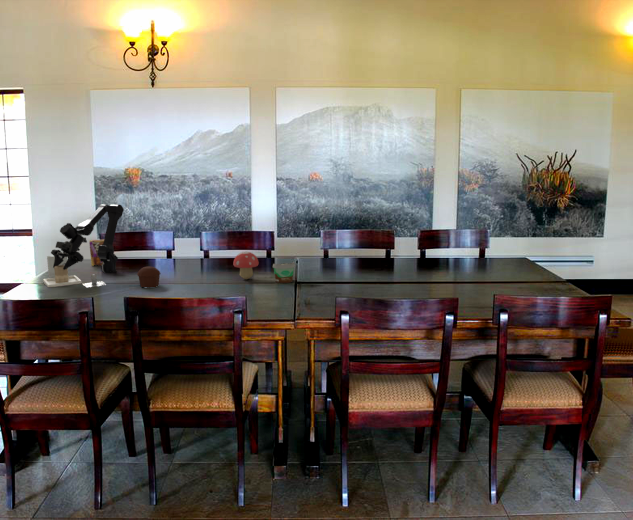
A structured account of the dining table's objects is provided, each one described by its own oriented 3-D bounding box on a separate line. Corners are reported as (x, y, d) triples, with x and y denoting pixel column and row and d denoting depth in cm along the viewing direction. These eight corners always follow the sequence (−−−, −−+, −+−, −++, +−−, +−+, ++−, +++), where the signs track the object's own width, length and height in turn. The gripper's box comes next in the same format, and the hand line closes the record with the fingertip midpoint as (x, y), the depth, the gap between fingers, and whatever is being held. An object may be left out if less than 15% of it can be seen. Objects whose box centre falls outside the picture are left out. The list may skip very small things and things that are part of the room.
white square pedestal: (102, 282, 303) (101, 271, 302) (106, 285, 295) (106, 275, 294) (82, 284, 297) (81, 274, 296) (86, 288, 289) (85, 277, 288)
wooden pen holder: (68, 280, 304) (67, 264, 303) (67, 282, 299) (66, 267, 297) (56, 281, 302) (55, 265, 301) (55, 283, 297) (53, 267, 295)
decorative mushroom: (234, 282, 300) (233, 254, 298) (233, 277, 313) (232, 250, 311) (259, 281, 302) (259, 253, 300) (258, 276, 315) (257, 249, 313)
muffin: (165, 284, 298) (164, 265, 296) (154, 289, 287) (153, 269, 285) (144, 283, 300) (143, 264, 298) (133, 288, 290) (132, 268, 288)
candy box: (107, 263, 353) (105, 239, 350) (106, 265, 348) (104, 240, 346) (92, 264, 350) (89, 239, 347) (91, 266, 346) (89, 241, 343)
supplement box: (60, 279, 310) (58, 256, 308) (48, 279, 311) (46, 256, 309) (69, 276, 317) (67, 254, 315) (57, 276, 319) (55, 253, 316)
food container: (277, 284, 295) (277, 265, 293) (272, 282, 301) (272, 263, 299) (299, 282, 301) (298, 263, 299) (294, 279, 306) (293, 261, 304)
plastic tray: (75, 278, 311) (75, 275, 311) (81, 284, 298) (81, 280, 298) (43, 282, 303) (42, 279, 302) (48, 288, 290) (47, 284, 289)
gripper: (52, 234, 303) (35, 258, 296) (77, 236, 295) (61, 261, 288) (65, 246, 312) (50, 270, 304) (90, 249, 304) (75, 273, 296)
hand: (58, 268), depth 298 cm, fingers open, 7 cm apart
